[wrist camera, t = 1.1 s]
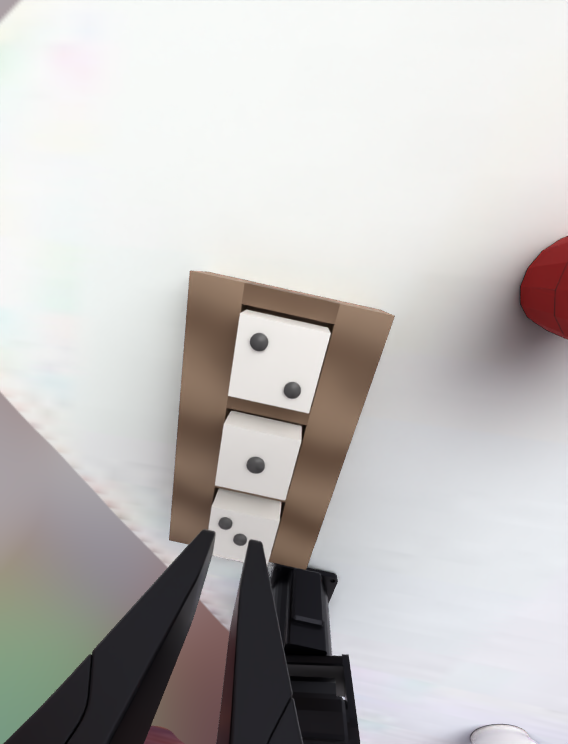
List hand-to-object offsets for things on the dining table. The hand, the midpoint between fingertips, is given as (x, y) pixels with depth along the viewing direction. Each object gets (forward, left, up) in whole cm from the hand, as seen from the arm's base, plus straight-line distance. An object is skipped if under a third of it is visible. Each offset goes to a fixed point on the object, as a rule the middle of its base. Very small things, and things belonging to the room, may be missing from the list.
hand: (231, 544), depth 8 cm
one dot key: (-4, 0, -10) cm, 11 cm away
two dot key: (+3, 0, -10) cm, 11 cm away
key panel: (-4, 0, -13) cm, 14 cm away
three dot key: (-11, 0, -10) cm, 15 cm away
